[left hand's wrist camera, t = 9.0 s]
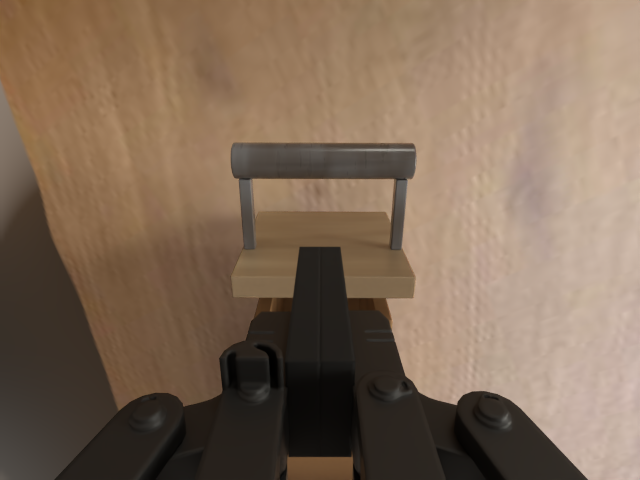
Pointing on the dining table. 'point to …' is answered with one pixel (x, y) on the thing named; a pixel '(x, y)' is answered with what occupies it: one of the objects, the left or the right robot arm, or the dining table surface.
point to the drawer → (323, 223)
